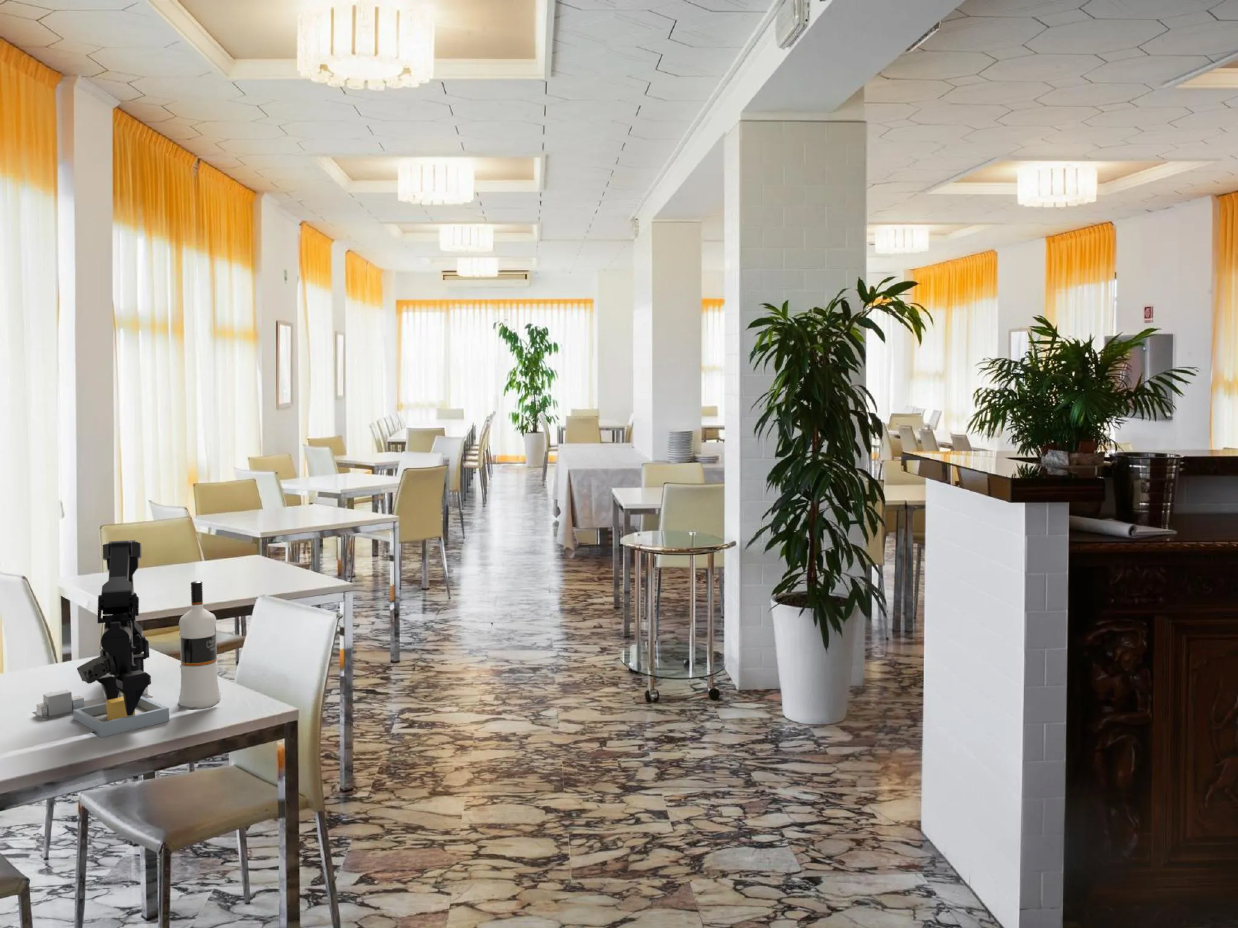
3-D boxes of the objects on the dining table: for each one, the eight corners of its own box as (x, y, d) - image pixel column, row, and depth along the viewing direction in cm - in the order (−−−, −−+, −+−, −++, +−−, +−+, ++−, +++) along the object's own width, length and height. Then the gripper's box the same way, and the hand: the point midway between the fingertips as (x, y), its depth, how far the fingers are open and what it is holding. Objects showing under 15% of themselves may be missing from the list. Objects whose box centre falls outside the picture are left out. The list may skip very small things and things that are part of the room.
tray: (140, 707, 242) (139, 695, 241) (169, 720, 232) (168, 707, 232) (73, 722, 230) (72, 709, 230) (100, 737, 220) (100, 723, 220)
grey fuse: (67, 708, 238) (66, 689, 237) (72, 710, 236) (71, 691, 235) (43, 713, 234) (43, 694, 234) (48, 715, 232) (48, 696, 232)
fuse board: (137, 693, 253) (136, 679, 253) (153, 700, 247) (153, 686, 247) (32, 716, 235) (31, 701, 235) (46, 724, 229) (46, 709, 229)
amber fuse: (129, 714, 234) (128, 695, 234) (135, 717, 232) (134, 697, 232) (106, 719, 230) (106, 700, 230) (112, 722, 228) (112, 702, 228)
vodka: (180, 701, 247) (176, 579, 245) (221, 697, 250) (218, 576, 248) (177, 712, 238) (174, 586, 236) (220, 708, 241) (217, 583, 239)
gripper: (64, 643, 230) (67, 710, 231) (98, 657, 218) (101, 728, 219) (115, 634, 238) (117, 699, 239) (150, 647, 226) (153, 716, 227)
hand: (121, 710), depth 231 cm, fingers open, 9 cm apart
